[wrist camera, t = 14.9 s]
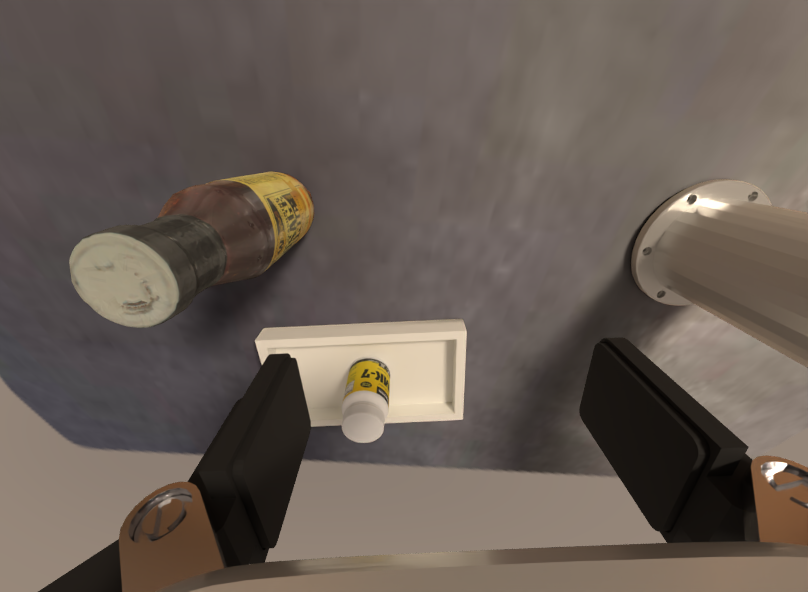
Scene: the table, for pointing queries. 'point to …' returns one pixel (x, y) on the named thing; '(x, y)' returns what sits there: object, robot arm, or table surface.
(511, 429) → the table surface
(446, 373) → the tray
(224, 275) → the sauce bottle
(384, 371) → the supplement bottle
